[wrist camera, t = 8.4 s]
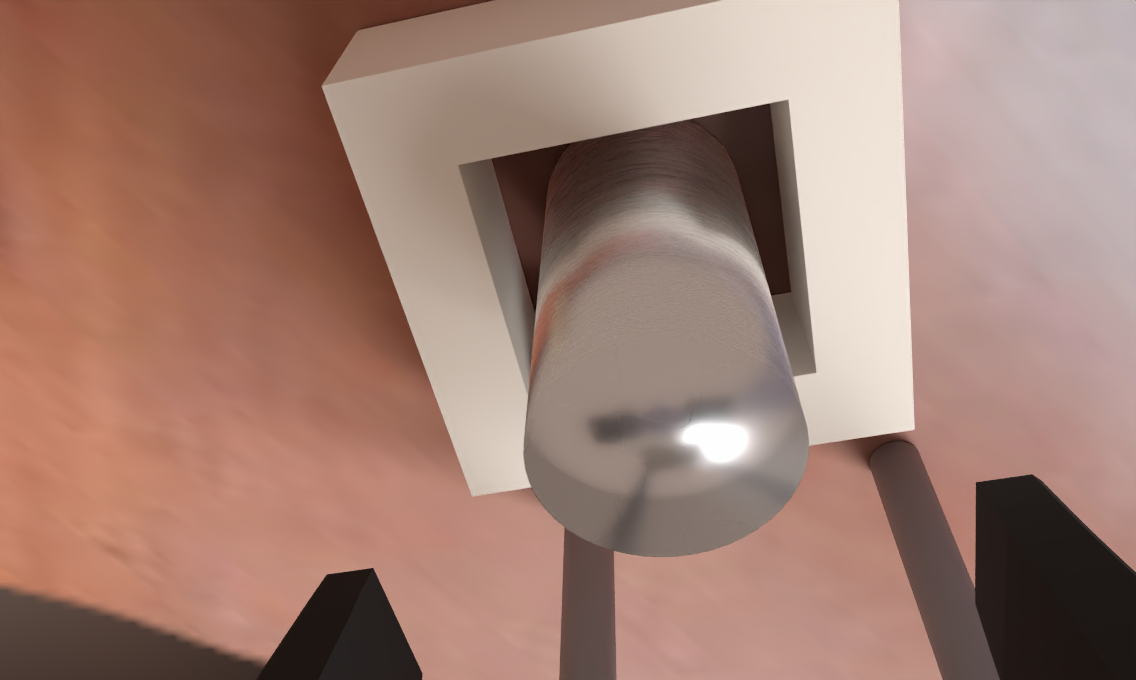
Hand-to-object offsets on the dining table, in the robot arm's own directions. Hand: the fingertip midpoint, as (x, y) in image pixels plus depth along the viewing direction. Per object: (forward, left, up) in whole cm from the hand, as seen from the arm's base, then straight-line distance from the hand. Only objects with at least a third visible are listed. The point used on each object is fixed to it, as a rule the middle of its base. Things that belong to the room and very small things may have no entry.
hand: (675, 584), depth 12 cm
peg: (0, 0, -10) cm, 10 cm away
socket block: (0, 0, -10) cm, 10 cm away
